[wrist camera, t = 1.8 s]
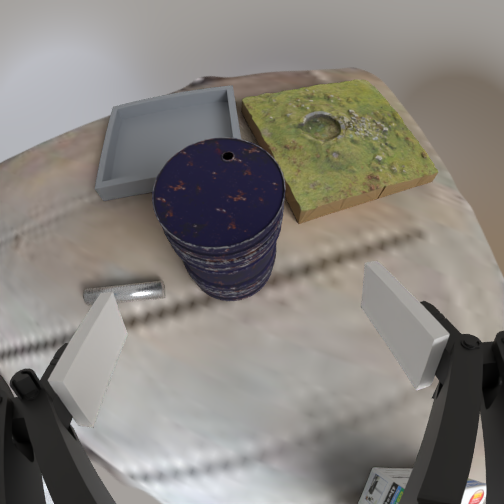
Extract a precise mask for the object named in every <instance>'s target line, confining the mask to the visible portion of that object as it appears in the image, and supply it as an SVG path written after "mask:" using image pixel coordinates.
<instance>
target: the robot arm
mask: <svg viewBox="0 0 504 504" xmlns="http://www.w3.org/2000/svg"><path fill="white" fill-rule="evenodd" d="M361 308H362V309H363V311H364V312H365V314H366V315H367V317H368V318H369V319H370V321H371V322H372V324H373V325H374V327H375V328H376V330H377V331H378V333H379V334H380V335H381V337H382V338H383V340H384V341H385V343H386V344H387V346H388V347H389V349H390V350H391V352H392V353H393V355H394V356H395V358H396V360H397V361H398V363H399V364H400V366H401V367H402V369H403V370H404V372H405V373H406V375H407V377H408V378H409V380H410V381H411V383H412V384H413V386H414V388H415V389H416V390H419V389H422V388H425V387H427V386H430V385H431V384H432V381H433V379H434V377H435V375H436V377H437V378H438V380H439V383H438V385H437V388H436V390H435V392H434V394H433V397H432V398H433V399H434V402H433V406H432V410H431V413H430V417H429V421H428V424H427V428H426V431H425V434H424V438H423V441H422V444H421V447H420V450H419V453H418V456H417V459H416V461H415V464H414V467H413V469H412V472H411V475H410V477H409V480H408V482H407V485H406V487H405V489H404V492H403V494H402V496H401V499H400V501H399V503H398V504H461V502H462V498H463V495H464V491H465V488H466V484H467V480H468V476H469V472H470V468H471V463H472V458H473V453H474V448H475V442H476V436H477V429H478V422H479V414H481V421H482V429H483V438H484V448H485V463H486V504H504V331H500V332H499V333H497V335H496V337H495V340H494V341H493V342H481V341H480V340H479V339H478V338H477V337H475V336H473V335H470V334H461V333H460V332H459V331H458V330H457V329H456V328H455V327H454V326H453V325H452V324H451V323H450V322H449V321H448V320H447V319H446V318H445V317H444V316H443V315H442V314H441V313H440V312H439V311H438V310H437V309H436V308H435V307H434V306H433V305H431V304H430V303H428V302H426V301H422V302H419V301H418V300H417V299H416V298H415V297H414V296H413V295H412V294H411V293H410V292H409V291H408V290H407V289H406V288H405V287H404V286H403V285H402V284H401V283H400V282H399V281H398V280H397V279H396V278H395V277H394V276H393V275H392V274H391V273H390V272H389V271H388V270H387V269H386V268H385V267H384V266H383V265H382V264H381V263H379V262H378V261H373V262H366V263H365V268H364V281H363V292H362V303H361ZM127 335H128V333H127V331H126V328H125V325H124V323H123V320H122V317H121V314H120V311H119V308H118V305H117V302H116V299H115V296H114V293H113V292H107V293H100V295H99V296H98V298H97V299H96V301H95V302H94V304H93V305H92V307H91V308H90V310H89V312H88V313H87V315H86V316H85V318H84V319H83V321H82V323H81V324H80V326H79V327H78V329H77V331H76V332H75V334H74V335H73V337H72V339H71V340H70V342H69V343H65V344H64V345H63V346H62V347H61V348H60V349H58V351H57V352H56V354H55V356H54V357H53V358H54V359H52V361H51V362H50V365H49V366H48V367H47V369H46V371H45V373H44V374H43V376H42V378H41V380H39V379H38V377H37V375H36V374H35V372H34V371H33V370H32V369H23V370H20V371H19V372H17V373H16V374H15V375H14V376H13V377H12V379H11V380H10V386H11V388H12V389H13V391H14V392H15V394H16V395H17V397H15V398H14V397H13V395H12V393H11V391H10V389H9V387H8V385H7V384H6V382H5V381H4V380H3V378H2V377H1V376H0V504H46V501H45V495H44V489H43V482H42V476H43V478H44V481H45V483H46V486H47V488H48V491H49V493H50V495H51V498H52V500H53V502H54V504H116V503H115V501H114V500H113V498H112V497H111V495H110V493H109V492H108V490H107V489H106V487H105V486H104V484H103V482H102V481H101V479H100V478H99V476H98V474H97V472H96V471H95V469H94V467H93V465H92V463H91V462H90V460H89V458H88V456H87V454H86V452H85V451H84V449H83V447H82V445H81V443H80V441H79V439H78V437H77V435H76V433H75V430H74V428H73V427H72V426H71V425H70V423H71V420H72V418H73V419H74V420H75V421H76V423H77V424H78V425H79V426H84V427H92V428H94V425H95V422H96V419H97V416H98V413H99V410H100V407H101V404H102V401H103V399H104V396H105V393H106V390H107V387H108V385H109V382H110V379H111V376H112V374H113V371H114V368H115V366H116V363H117V360H118V358H119V355H120V353H121V350H122V348H123V345H124V343H125V340H126V338H127ZM41 473H42V474H41Z"/></svg>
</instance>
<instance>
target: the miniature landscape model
mask: <svg viewBox="0 0 504 504" xmlns="http://www.w3.org/2000/svg"><path fill="white" fill-rule="evenodd" d="M241 112H242V114H243V116H244V118H245V120H246V121H247V123H248V125H249V127H250V129H251V131H252V132H253V134H254V136H255V138H256V140H257V142H258V144H259V146H260V147H261V148H263V149H264V150H265V151H267V152H268V153H269V154H270V155H271V156H272V157H273V158H274V159H275V160H276V162H277V163H278V164H279V166H280V168H281V170H282V172H283V176H284V179H285V188H286V190H285V197H286V199H287V201H288V203H289V205H290V207H291V209H292V211H293V213H294V215H295V217H296V219H297V221H298V224H300V223H303V222H306V221H309V220H312V219H315V218H318V217H321V216H325V215H328V214H331V213H334V212H337V211H340V210H344V209H347V208H350V207H353V206H356V205H359V204H362V203H366V202H369V201H372V200H375V199H378V198H381V197H385V196H388V195H391V194H394V193H397V192H400V191H404V190H407V189H410V188H413V187H416V186H420V185H423V184H426V183H429V182H432V181H433V179H434V178H435V176H436V175H437V173H438V170H437V169H436V168H435V167H434V163H433V162H432V161H431V159H430V158H429V156H428V154H427V153H426V152H425V150H424V149H423V148H422V147H421V145H420V144H419V142H418V141H417V139H416V138H415V137H414V136H413V134H412V133H411V131H410V130H408V128H407V127H406V125H405V124H404V122H403V120H402V118H401V117H400V116H399V114H398V113H397V112H396V111H395V110H394V109H393V108H392V107H391V106H390V104H389V103H388V101H387V100H386V99H385V98H384V97H383V96H382V95H381V93H380V92H379V91H378V90H377V89H376V88H375V87H374V86H373V85H371V84H370V83H369V82H368V81H366V80H352V81H346V82H341V83H330V84H326V85H324V84H319V85H315V86H311V87H303V88H300V89H294V90H287V91H281V92H279V93H272V94H268V93H264V94H261V95H259V96H251V97H246V98H243V100H242V111H241Z"/></svg>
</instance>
